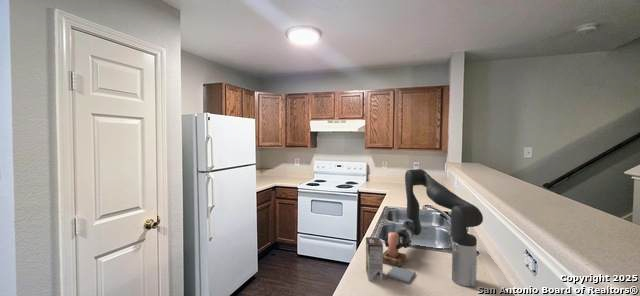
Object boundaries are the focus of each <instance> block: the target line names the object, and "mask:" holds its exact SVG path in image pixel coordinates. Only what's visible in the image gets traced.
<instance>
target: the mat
mask: <svg viewBox="0 0 640 296" xmlns="http://www.w3.org/2000/svg"><path fill="white" fill-rule="evenodd" d="M415 276H416V272H415V271H412V270H408V269H406V268H403V267H402V268H401V267H400V268H398V267H395V266H392V268H391V269H390V270H389V271H388V272H387V273H386V274H385V277H386V278H387V279H391V280H393V281H397V282H401V283H404V284H407V285H409V284H410V282H411V281H412V280H413V278H414V277H415Z"/></svg>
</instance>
